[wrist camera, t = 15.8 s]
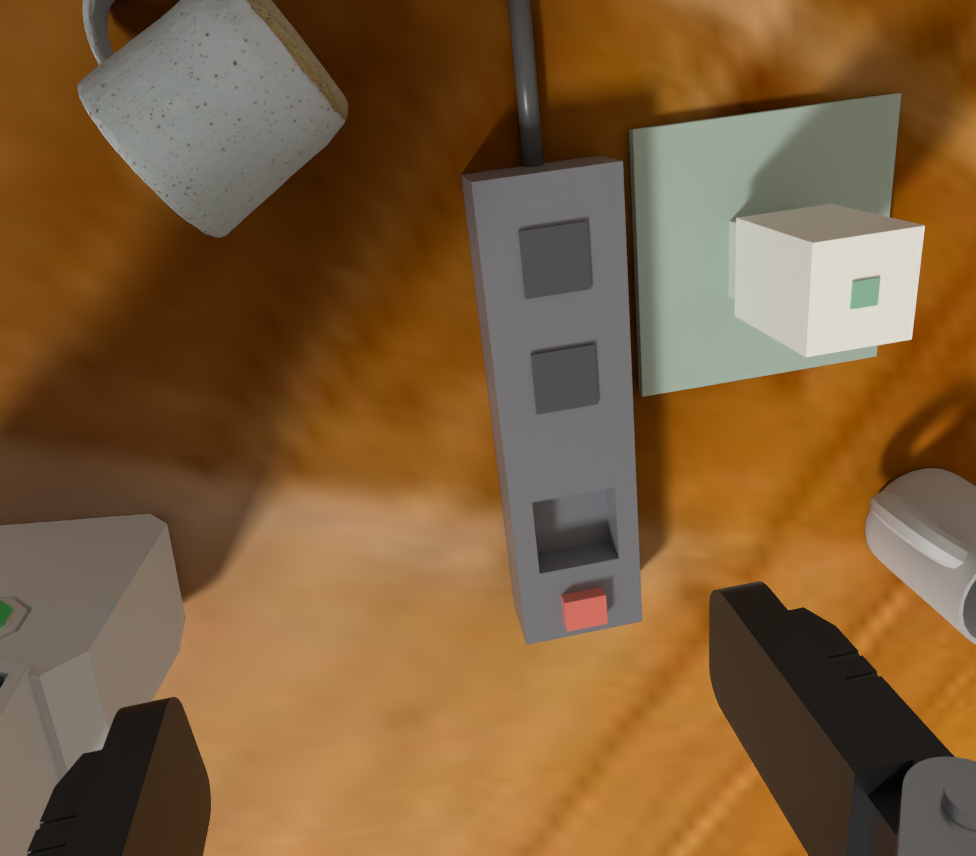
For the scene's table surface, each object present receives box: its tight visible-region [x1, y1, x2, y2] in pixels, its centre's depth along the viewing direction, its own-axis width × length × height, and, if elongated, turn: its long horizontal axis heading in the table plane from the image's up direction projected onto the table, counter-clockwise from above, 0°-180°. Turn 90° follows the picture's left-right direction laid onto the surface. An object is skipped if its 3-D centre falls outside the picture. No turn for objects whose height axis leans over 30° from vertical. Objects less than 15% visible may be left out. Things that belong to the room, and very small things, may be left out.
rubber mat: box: [629, 93, 901, 397], centre depth 42 cm, size 14×14×1 cm
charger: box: [728, 204, 925, 357], centre depth 37 cm, size 5×5×9 cm
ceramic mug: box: [78, 0, 348, 238], centre depth 31 cm, size 11×8×8 cm
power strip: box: [461, 0, 642, 644], centre depth 40 cm, size 34×7×4 cm, turn 7°
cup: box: [865, 468, 976, 644], centre depth 46 cm, size 7×10×9 cm
